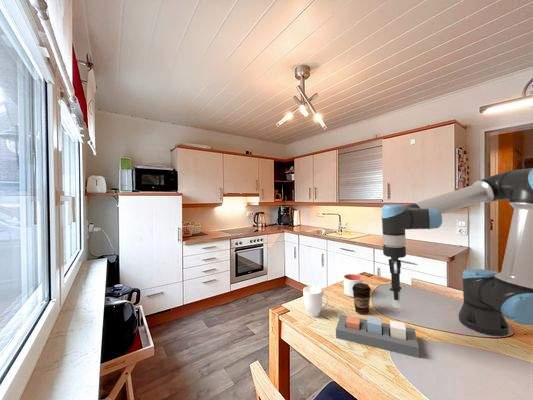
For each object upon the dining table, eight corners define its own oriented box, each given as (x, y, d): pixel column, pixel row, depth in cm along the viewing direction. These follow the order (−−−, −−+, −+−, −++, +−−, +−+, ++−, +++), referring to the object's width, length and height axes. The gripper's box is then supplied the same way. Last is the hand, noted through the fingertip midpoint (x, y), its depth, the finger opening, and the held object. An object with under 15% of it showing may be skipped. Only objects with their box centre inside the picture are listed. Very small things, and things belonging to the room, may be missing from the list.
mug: (305, 319, 105) (304, 293, 105) (303, 310, 114) (301, 286, 114) (330, 318, 105) (329, 292, 105) (326, 309, 114) (325, 285, 114)
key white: (405, 335, 87) (404, 322, 87) (406, 342, 83) (405, 330, 83) (390, 332, 89) (389, 320, 89) (390, 339, 85) (390, 326, 85)
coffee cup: (374, 317, 104) (372, 289, 104) (354, 316, 106) (353, 288, 106) (369, 307, 113) (368, 282, 113) (351, 307, 115) (350, 281, 114)
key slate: (381, 330, 91) (381, 318, 91) (381, 337, 86) (381, 325, 86) (368, 327, 93) (367, 316, 93) (367, 334, 89) (367, 322, 89)
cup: (340, 292, 131) (339, 275, 131) (354, 289, 134) (354, 273, 134) (351, 300, 122) (351, 281, 122) (367, 296, 125) (366, 278, 125)
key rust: (360, 329, 95) (360, 318, 94) (359, 336, 90) (359, 324, 90) (348, 326, 97) (347, 315, 97) (346, 333, 92) (345, 321, 92)
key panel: (414, 337, 89) (414, 328, 89) (419, 357, 78) (419, 347, 78) (340, 322, 102) (340, 314, 101) (336, 337, 91) (335, 329, 91)
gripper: (382, 241, 93) (385, 297, 93) (382, 248, 81) (385, 313, 82) (404, 242, 90) (406, 301, 90) (407, 250, 78) (409, 317, 78)
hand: (396, 306), depth 86 cm, fingers closed
